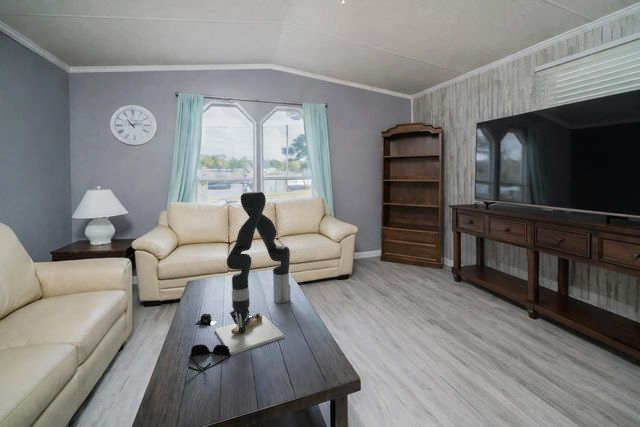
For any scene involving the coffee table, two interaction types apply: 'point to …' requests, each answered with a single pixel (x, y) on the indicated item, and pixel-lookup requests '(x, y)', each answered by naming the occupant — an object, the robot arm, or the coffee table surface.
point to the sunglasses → (204, 350)
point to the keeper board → (248, 336)
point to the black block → (206, 320)
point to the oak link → (256, 319)
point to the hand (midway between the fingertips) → (242, 333)
